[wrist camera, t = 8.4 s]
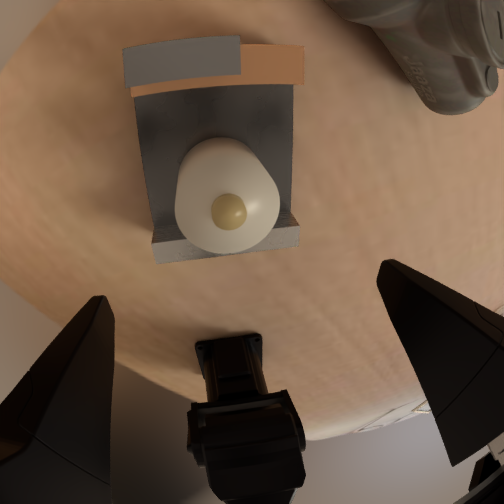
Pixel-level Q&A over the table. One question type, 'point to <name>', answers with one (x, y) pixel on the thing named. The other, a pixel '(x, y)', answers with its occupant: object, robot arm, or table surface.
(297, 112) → the table surface
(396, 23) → the pipe fitting
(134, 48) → the tan and grey slab
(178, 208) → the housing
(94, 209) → the table surface
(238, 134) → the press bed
